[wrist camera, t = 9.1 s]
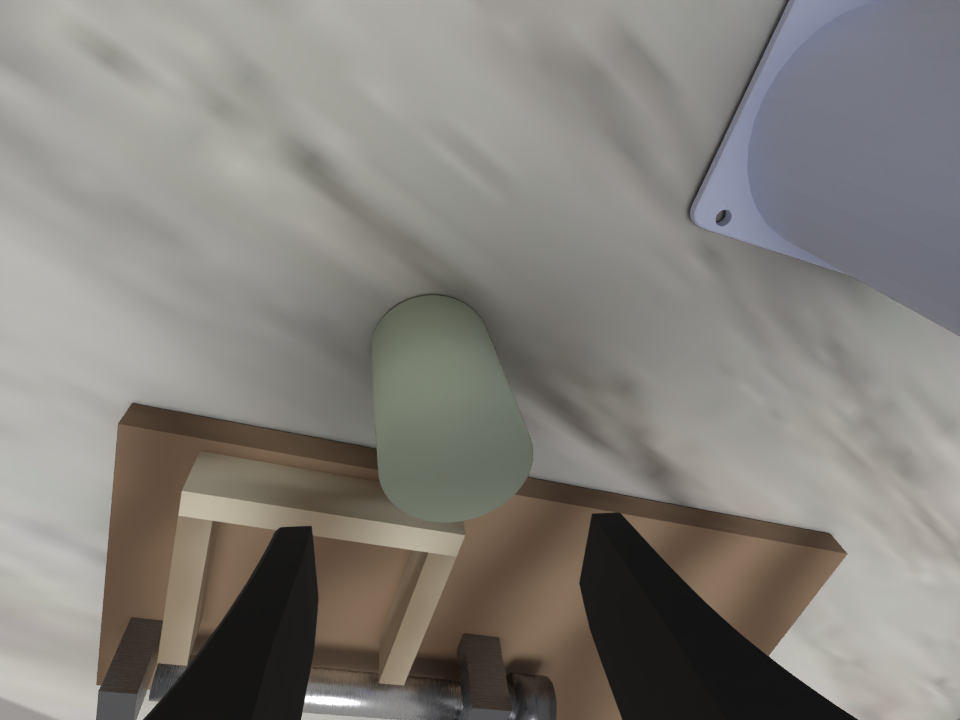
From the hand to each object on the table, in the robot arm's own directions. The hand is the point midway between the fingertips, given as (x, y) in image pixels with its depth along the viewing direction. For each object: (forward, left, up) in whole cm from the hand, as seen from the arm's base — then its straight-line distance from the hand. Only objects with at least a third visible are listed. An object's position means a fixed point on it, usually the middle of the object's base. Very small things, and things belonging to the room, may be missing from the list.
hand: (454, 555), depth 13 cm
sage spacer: (0, 0, -9) cm, 9 cm away
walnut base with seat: (-6, +11, -9) cm, 15 cm away
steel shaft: (-1, +14, -8) cm, 16 cm away
